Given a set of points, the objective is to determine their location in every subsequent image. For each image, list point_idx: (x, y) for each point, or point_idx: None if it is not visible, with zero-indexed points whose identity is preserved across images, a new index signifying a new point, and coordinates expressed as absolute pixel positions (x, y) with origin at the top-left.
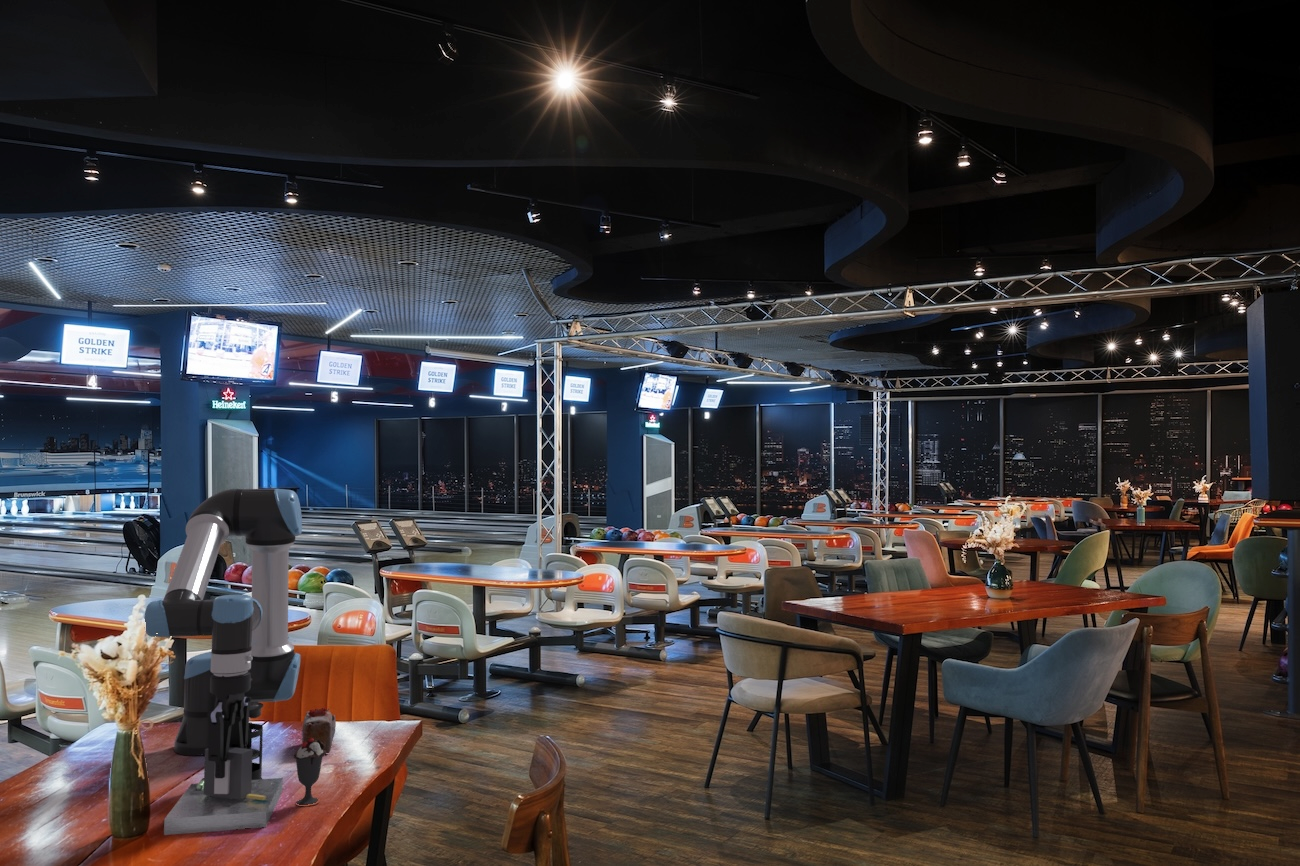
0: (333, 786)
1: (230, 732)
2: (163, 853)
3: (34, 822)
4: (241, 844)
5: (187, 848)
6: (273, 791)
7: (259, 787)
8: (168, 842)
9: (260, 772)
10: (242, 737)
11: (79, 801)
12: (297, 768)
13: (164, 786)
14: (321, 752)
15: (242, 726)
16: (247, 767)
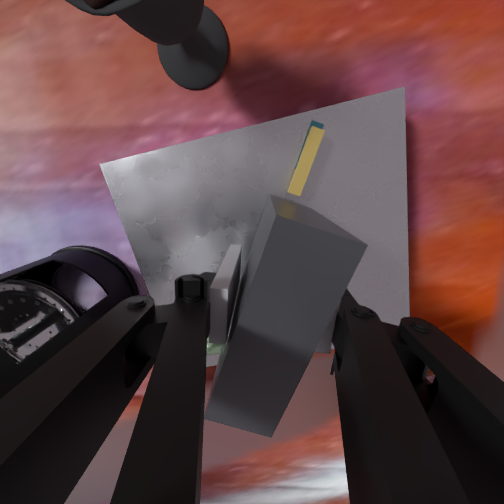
0: (47, 16)
1: (383, 445)
2: (496, 277)
3: (303, 500)
4: (491, 120)
5: (480, 241)
6: (219, 142)
7: (188, 202)
8: (433, 293)
9: (55, 256)
10: (168, 337)
11: (216, 486)
12: (181, 5)
13: (133, 411)
14: None
15: (77, 413)
16: (300, 212)
